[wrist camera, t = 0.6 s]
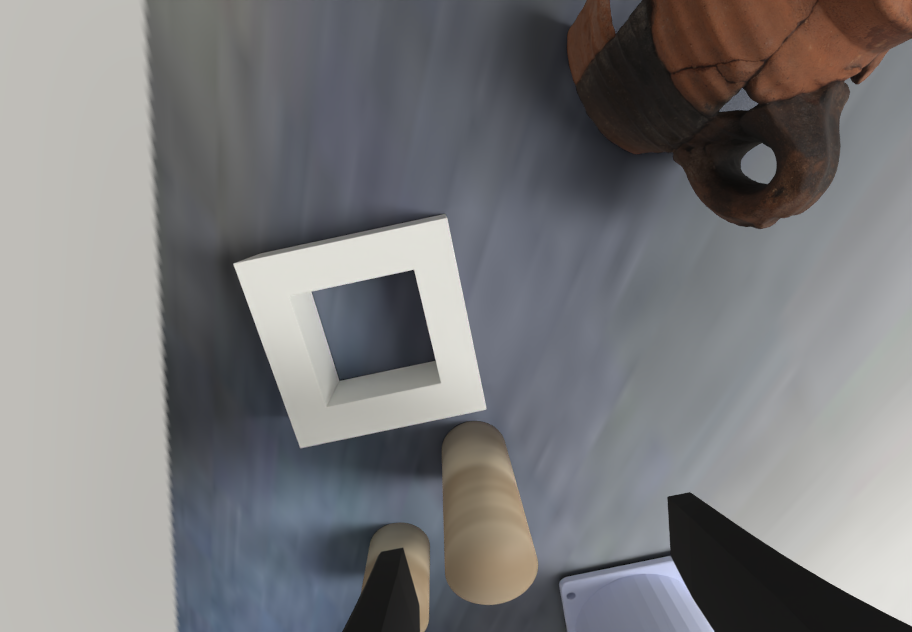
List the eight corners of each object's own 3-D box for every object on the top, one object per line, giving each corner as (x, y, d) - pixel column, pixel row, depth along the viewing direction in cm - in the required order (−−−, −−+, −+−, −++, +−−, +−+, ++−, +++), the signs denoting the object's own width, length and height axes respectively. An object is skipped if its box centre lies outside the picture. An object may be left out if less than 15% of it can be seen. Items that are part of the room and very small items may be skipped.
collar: (480, 383, 20) (486, 409, 18) (316, 417, 20) (300, 448, 18) (445, 213, 18) (446, 217, 16) (259, 253, 18) (233, 263, 16)
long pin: (510, 469, 22) (544, 594, 15) (448, 482, 22) (455, 612, 15) (499, 415, 21) (530, 522, 14) (435, 428, 21) (436, 541, 14)
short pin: (435, 563, 23) (435, 637, 20) (378, 575, 23) (367, 651, 20) (422, 517, 22) (419, 585, 19) (362, 529, 22) (348, 600, 19)
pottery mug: (524, -45, 16) (760, -387, 9) (685, -18, 20) (939, -234, 13) (598, 269, 16) (884, 202, 9) (741, 232, 21) (1018, 165, 13)
